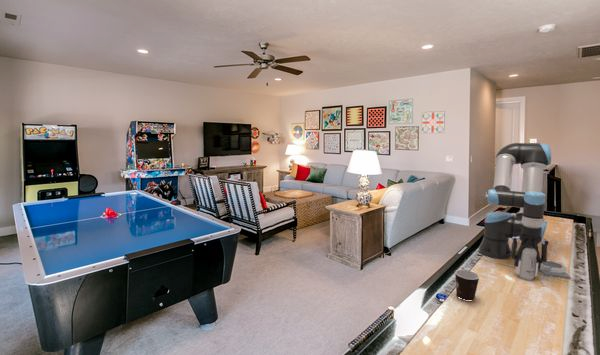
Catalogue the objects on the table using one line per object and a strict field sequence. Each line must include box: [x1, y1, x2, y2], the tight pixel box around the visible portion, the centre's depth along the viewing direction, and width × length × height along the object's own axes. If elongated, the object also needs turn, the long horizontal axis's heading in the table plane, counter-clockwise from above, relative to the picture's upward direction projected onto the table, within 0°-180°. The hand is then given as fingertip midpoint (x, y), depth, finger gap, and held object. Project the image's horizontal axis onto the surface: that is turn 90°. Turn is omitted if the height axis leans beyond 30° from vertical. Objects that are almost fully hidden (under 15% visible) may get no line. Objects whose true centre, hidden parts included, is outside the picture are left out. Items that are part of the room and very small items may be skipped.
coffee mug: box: [454, 269, 480, 301], centre depth 124 cm, size 12×9×10 cm
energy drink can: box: [517, 246, 537, 281], centre depth 141 cm, size 6×6×15 cm
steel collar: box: [540, 259, 568, 274], centre depth 149 cm, size 10×10×2 cm
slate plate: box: [538, 265, 572, 280], centre depth 149 cm, size 10×14×1 cm
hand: (526, 273), depth 142 cm, fingers closed on energy drink can, 6 cm apart
